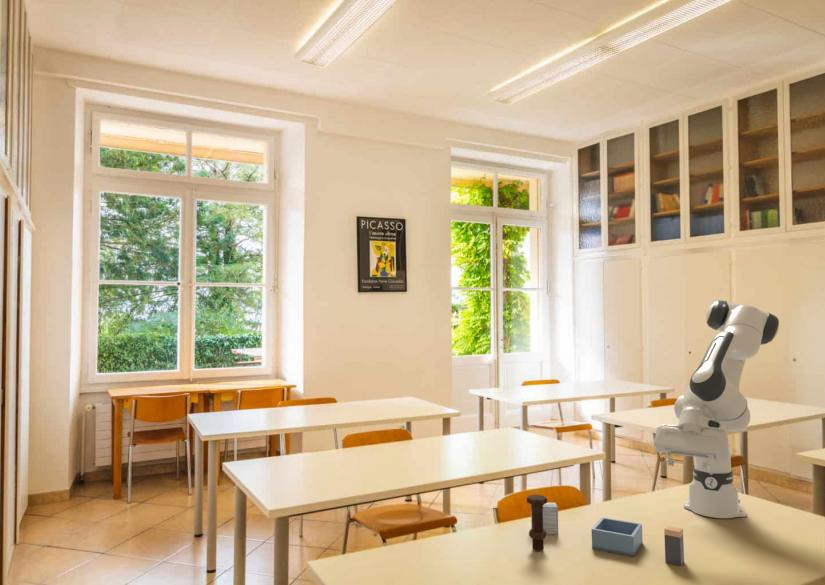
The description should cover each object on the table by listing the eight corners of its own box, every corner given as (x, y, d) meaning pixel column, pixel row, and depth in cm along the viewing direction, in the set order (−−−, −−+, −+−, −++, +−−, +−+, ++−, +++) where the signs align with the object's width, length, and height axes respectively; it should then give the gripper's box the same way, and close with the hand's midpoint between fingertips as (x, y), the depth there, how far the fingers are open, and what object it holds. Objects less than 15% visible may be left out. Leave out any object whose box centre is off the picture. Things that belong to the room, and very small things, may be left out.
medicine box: (556, 530, 186) (556, 502, 186) (558, 535, 181) (558, 506, 182) (531, 529, 186) (530, 501, 187) (532, 534, 182) (532, 506, 182)
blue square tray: (602, 535, 180) (602, 517, 180) (642, 543, 174) (642, 523, 174) (592, 548, 170) (591, 529, 170) (634, 557, 164) (633, 536, 164)
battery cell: (668, 558, 163) (667, 525, 163) (684, 562, 160) (683, 528, 160) (665, 562, 160) (664, 528, 161) (681, 566, 158) (679, 532, 158)
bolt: (541, 555, 167) (540, 501, 167) (525, 550, 170) (524, 498, 170) (550, 548, 171) (549, 496, 172) (534, 544, 174) (533, 493, 175)
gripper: (655, 417, 182) (647, 456, 174) (730, 424, 170) (724, 466, 162) (660, 430, 185) (652, 468, 177) (733, 437, 173) (728, 478, 165)
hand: (687, 467), depth 169 cm, fingers open, 8 cm apart
